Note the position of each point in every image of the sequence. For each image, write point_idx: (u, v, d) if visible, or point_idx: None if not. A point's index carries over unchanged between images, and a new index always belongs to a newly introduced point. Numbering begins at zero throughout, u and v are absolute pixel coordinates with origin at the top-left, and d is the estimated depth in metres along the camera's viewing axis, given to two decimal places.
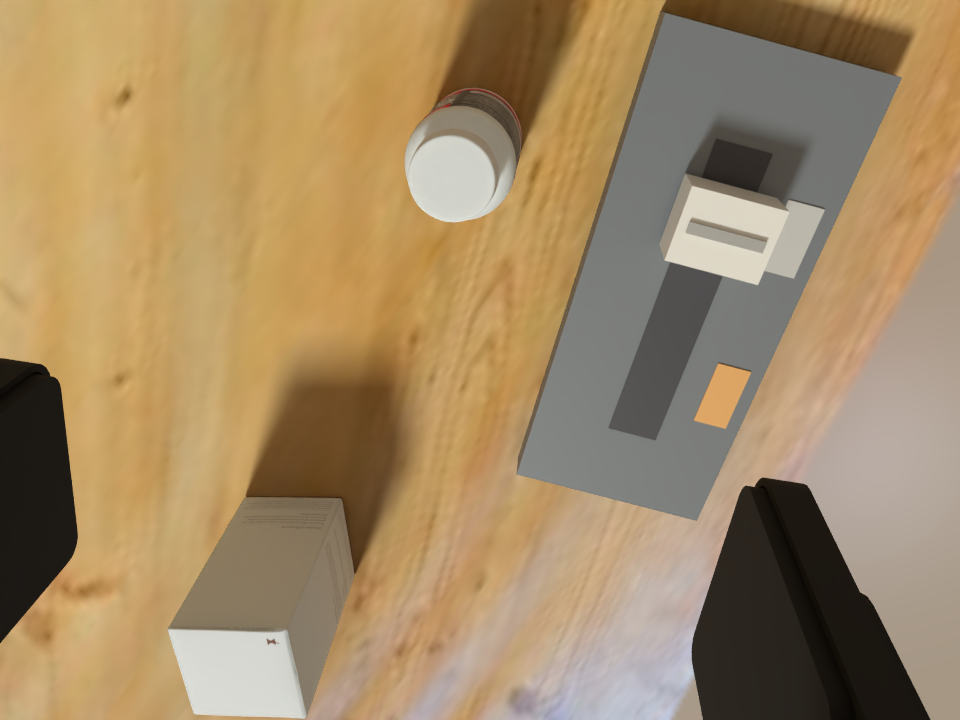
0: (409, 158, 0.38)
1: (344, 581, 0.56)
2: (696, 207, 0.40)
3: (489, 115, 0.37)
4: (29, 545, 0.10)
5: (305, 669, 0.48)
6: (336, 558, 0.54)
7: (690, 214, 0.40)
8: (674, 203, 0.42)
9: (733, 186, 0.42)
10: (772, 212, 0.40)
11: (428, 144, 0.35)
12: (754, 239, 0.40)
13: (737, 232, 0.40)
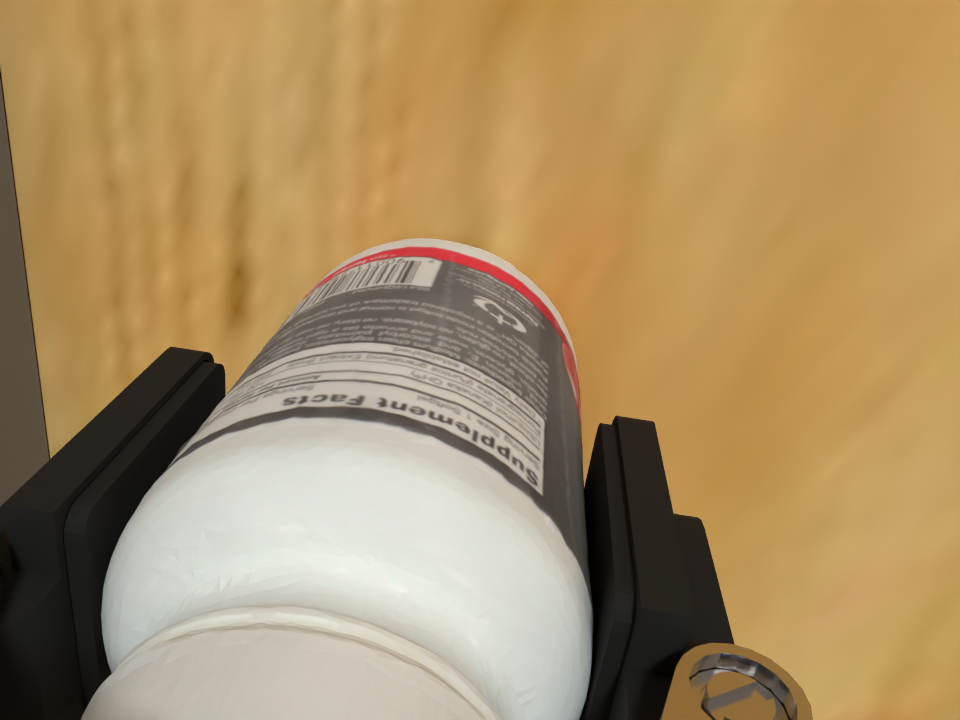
0: (562, 714, 0.08)
1: None
2: None
3: None
4: None
5: None
6: None
7: None
8: None
9: None
10: None
11: None
12: None
13: None
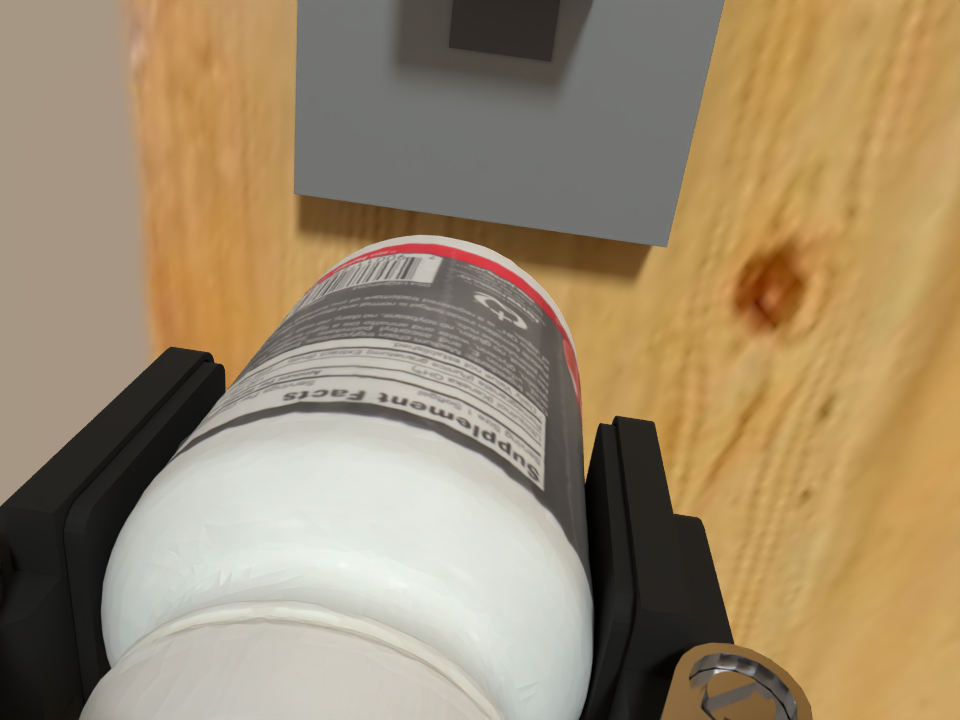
0: (563, 710, 0.08)
1: None
2: None
3: None
4: None
5: None
6: None
7: None
8: None
9: None
10: None
11: None
12: None
13: None
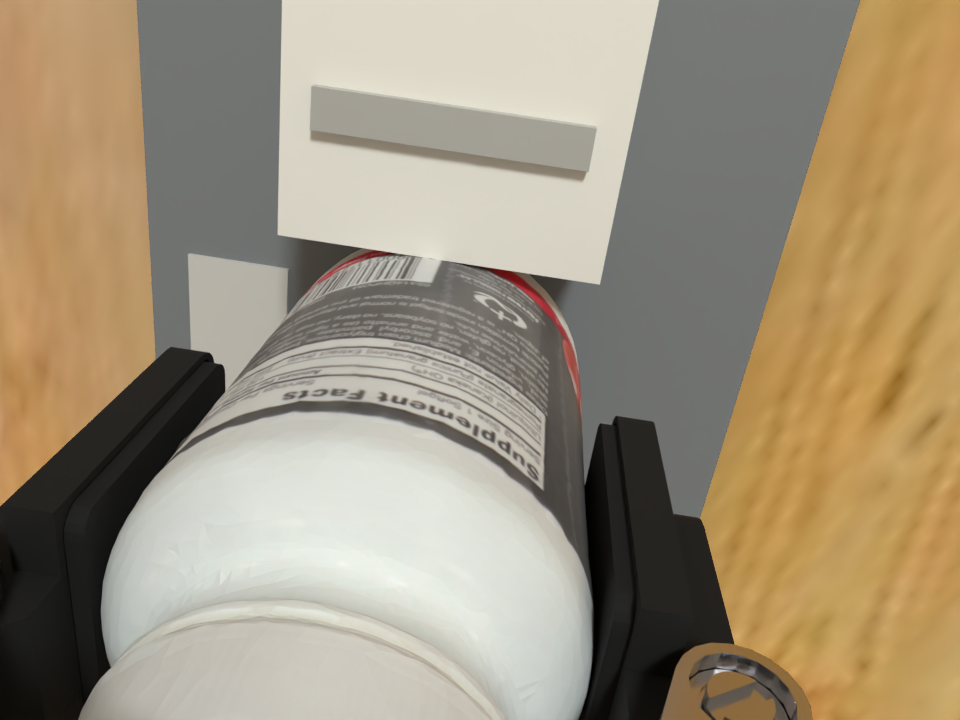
0: (562, 710, 0.08)
1: None
2: (575, 217, 0.12)
3: None
4: None
5: None
6: None
7: (591, 189, 0.12)
8: None
9: None
10: (329, 228, 0.12)
11: None
12: (356, 130, 0.12)
13: (416, 146, 0.12)
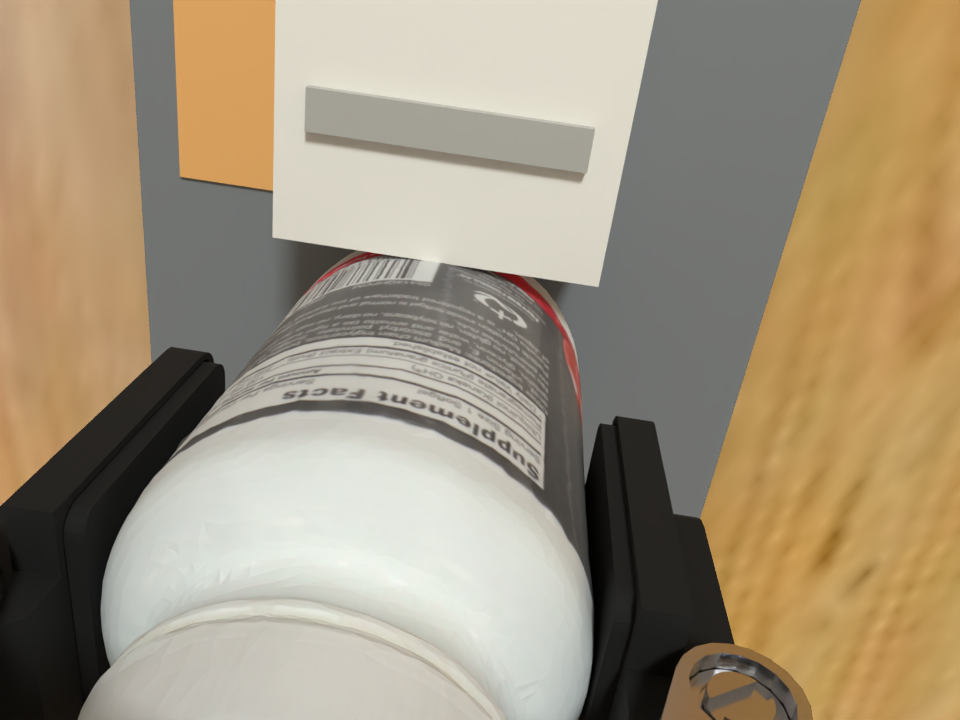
0: (563, 709, 0.08)
1: None
2: (573, 219, 0.12)
3: None
4: None
5: None
6: None
7: (589, 191, 0.12)
8: None
9: None
10: (324, 230, 0.12)
11: None
12: (351, 131, 0.11)
13: (413, 147, 0.11)
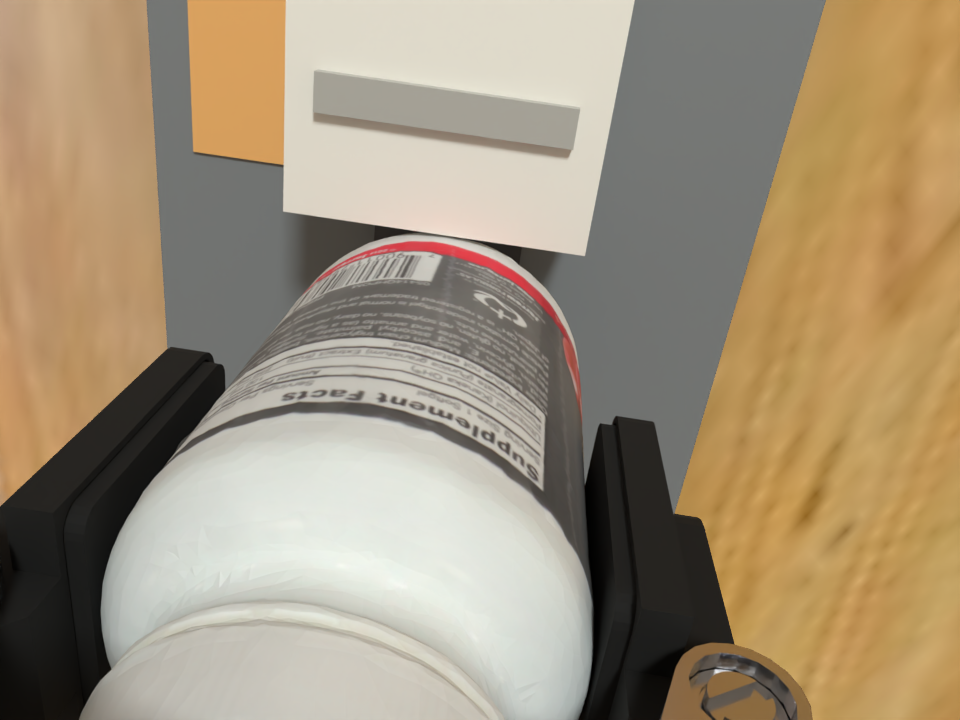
0: (562, 710, 0.08)
1: None
2: (561, 193, 0.13)
3: None
4: None
5: None
6: None
7: (575, 166, 0.12)
8: None
9: None
10: (331, 205, 0.13)
11: None
12: (356, 112, 0.12)
13: (413, 126, 0.12)
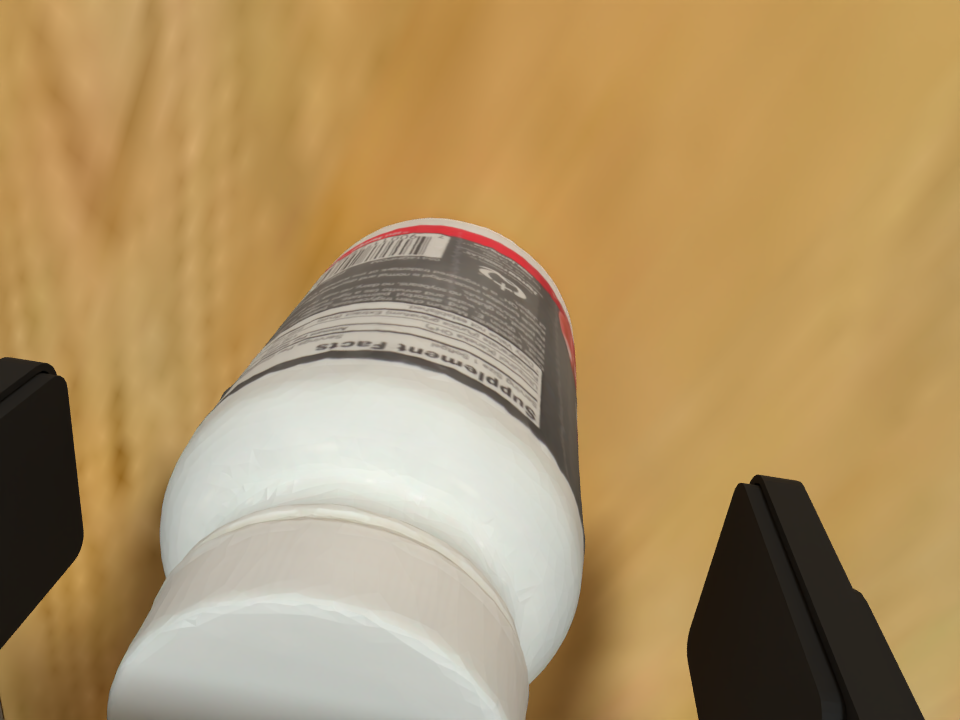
0: (555, 614, 0.10)
1: None
2: None
3: None
4: (36, 543, 0.10)
5: None
6: None
7: None
8: None
9: None
10: None
11: None
12: None
13: None
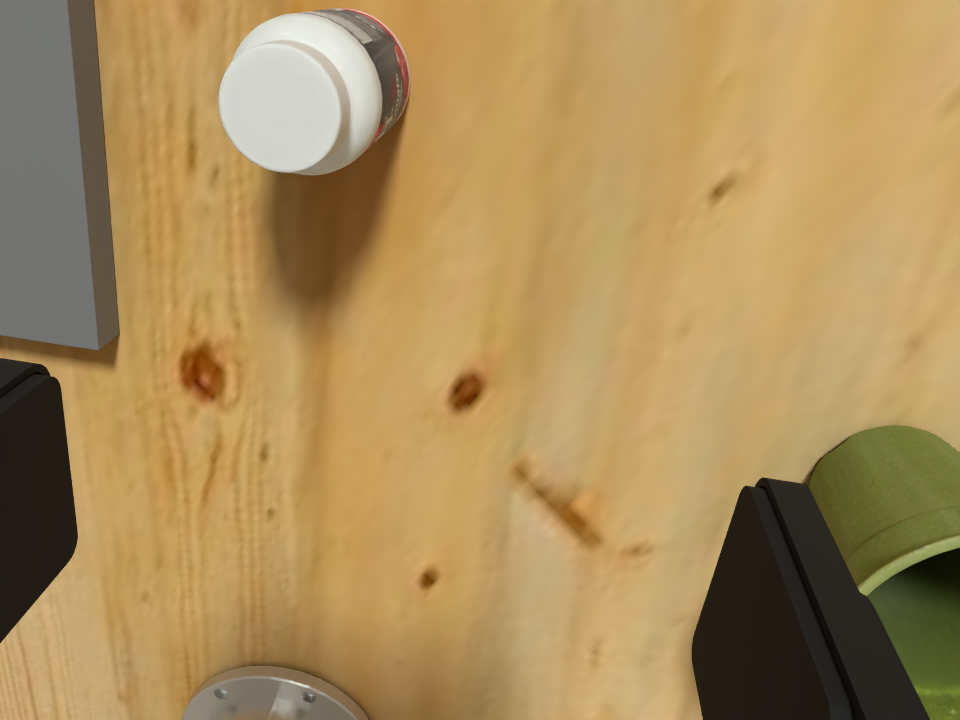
0: (367, 105, 0.27)
1: None
2: None
3: None
4: (29, 545, 0.10)
5: None
6: None
7: None
8: None
9: None
10: None
11: (318, 156, 0.26)
12: None
13: None
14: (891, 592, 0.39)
